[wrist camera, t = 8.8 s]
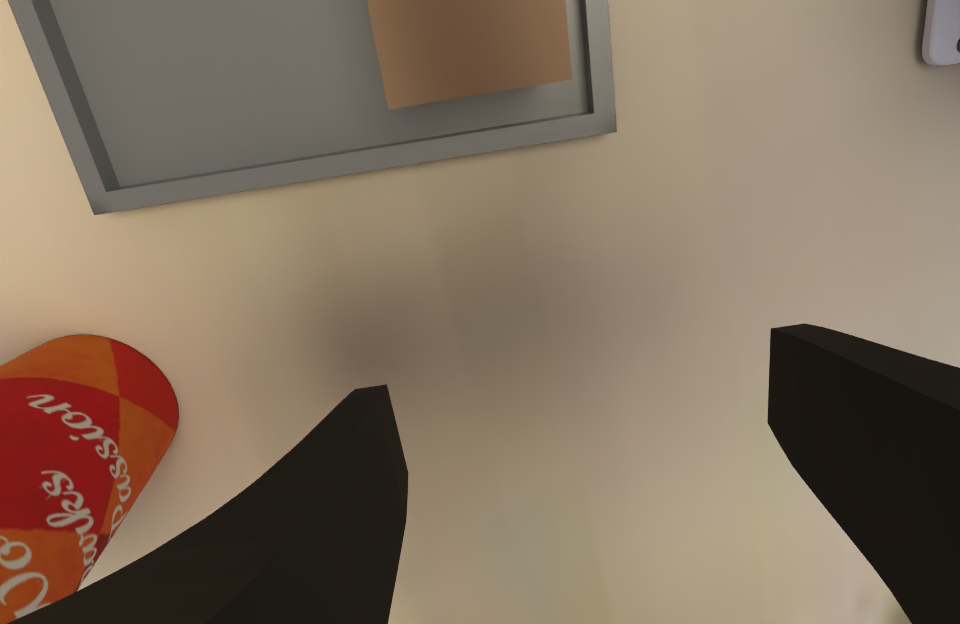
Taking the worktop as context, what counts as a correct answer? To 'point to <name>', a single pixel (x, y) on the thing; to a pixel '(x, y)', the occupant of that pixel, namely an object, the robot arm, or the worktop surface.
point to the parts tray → (271, 96)
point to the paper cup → (73, 460)
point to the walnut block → (467, 47)
